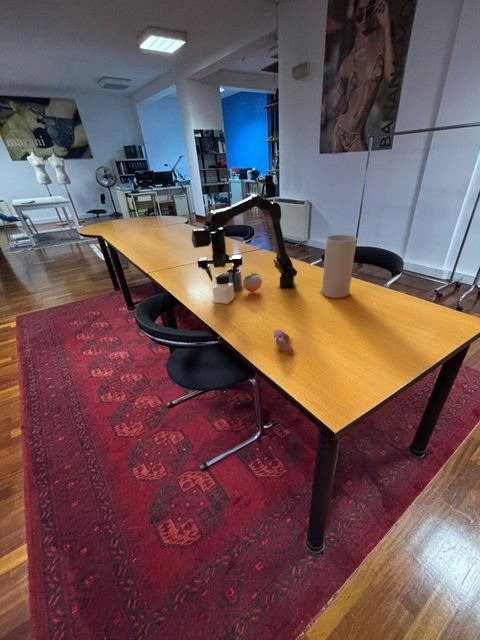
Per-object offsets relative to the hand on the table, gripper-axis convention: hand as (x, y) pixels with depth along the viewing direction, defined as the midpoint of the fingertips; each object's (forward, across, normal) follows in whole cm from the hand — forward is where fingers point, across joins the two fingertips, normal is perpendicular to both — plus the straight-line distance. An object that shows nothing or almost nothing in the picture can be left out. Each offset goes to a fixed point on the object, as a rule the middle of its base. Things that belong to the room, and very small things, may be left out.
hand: (222, 280), depth 131 cm
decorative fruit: (+10, +14, +7) cm, 18 cm away
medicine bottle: (+10, 0, 0) cm, 10 cm away
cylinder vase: (+10, +52, +1) cm, 53 cm away
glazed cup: (+9, +5, +14) cm, 18 cm away
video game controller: (+10, +21, -43) cm, 49 cm away
